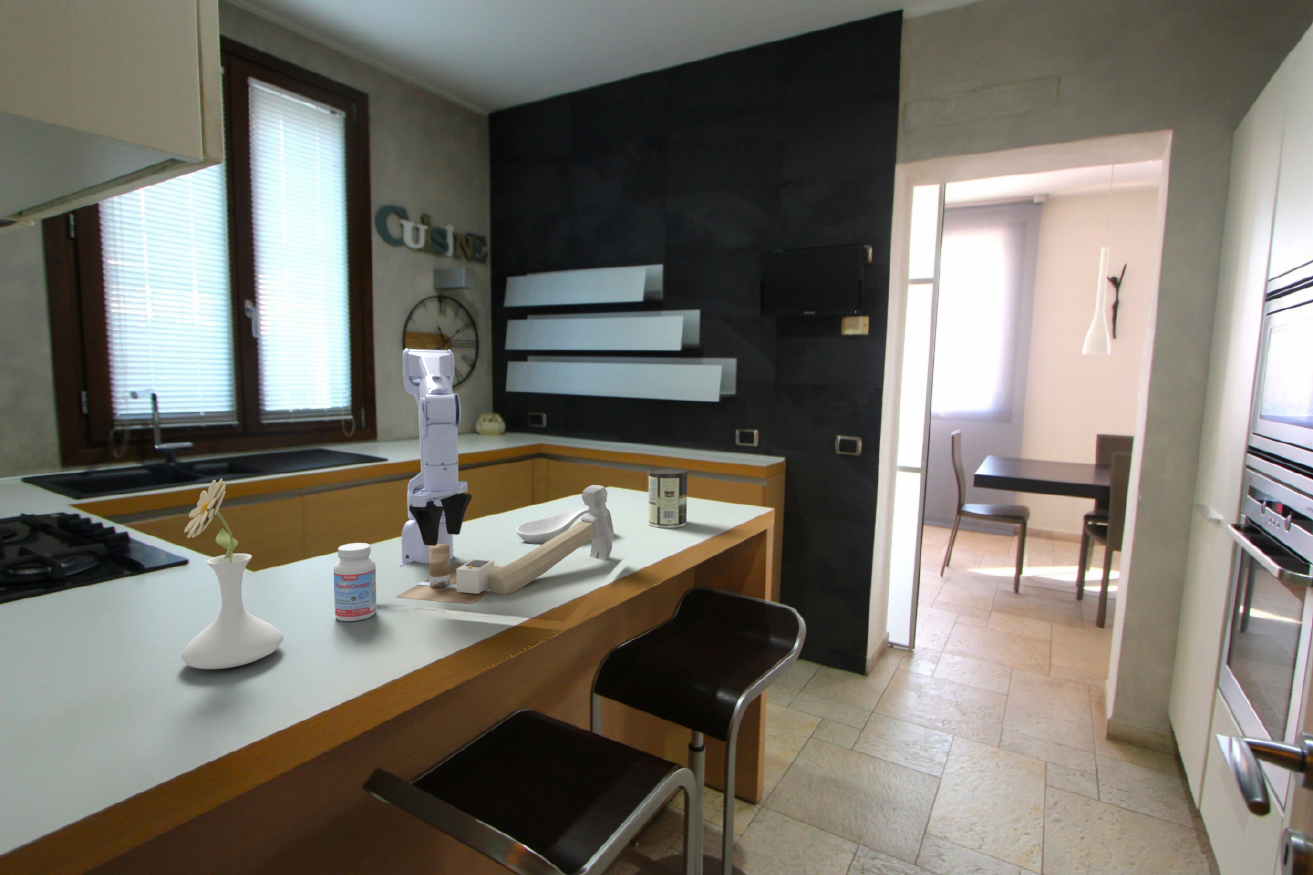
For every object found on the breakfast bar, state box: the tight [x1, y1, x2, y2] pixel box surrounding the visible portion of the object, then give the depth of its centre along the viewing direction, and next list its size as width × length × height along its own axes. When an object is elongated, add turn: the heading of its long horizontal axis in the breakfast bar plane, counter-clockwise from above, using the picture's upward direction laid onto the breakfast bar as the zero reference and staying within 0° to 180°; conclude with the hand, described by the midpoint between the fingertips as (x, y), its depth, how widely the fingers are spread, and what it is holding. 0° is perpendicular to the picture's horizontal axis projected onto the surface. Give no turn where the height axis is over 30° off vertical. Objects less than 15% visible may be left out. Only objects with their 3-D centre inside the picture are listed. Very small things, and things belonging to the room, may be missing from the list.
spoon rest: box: [515, 505, 615, 546], centre depth 151 cm, size 24×12×7 cm, turn 123°
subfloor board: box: [395, 562, 503, 605], centre depth 115 cm, size 14×20×1 cm
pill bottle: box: [333, 542, 377, 622], centre depth 101 cm, size 6×6×11 cm
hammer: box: [488, 484, 614, 596], centre depth 121 cm, size 16×5×30 cm
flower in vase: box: [181, 478, 284, 670], centre depth 84 cm, size 13×11×25 cm
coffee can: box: [647, 467, 689, 529], centre depth 167 cm, size 10×10×14 cm
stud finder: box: [456, 558, 495, 594], centre depth 111 cm, size 4×6×4 cm, turn 168°
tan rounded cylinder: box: [428, 544, 451, 588], centre depth 112 cm, size 3×3×7 cm
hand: (442, 539), depth 113 cm, fingers open, 7 cm apart
